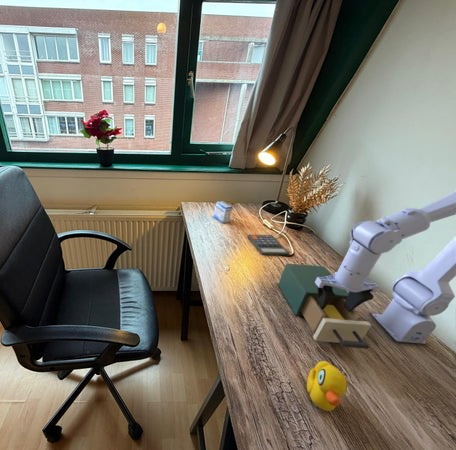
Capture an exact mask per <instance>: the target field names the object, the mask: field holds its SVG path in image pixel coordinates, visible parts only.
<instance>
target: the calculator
mask: <svg viewBox="0 0 456 450" xmlns="http://www.w3.org/2000/svg"><path fill="white" fill-rule="evenodd" d="M247 237H248V238H249V240H250V241H251V242H252V244H253V245H254V247H255V248H256V249H257V250H258V251H259V252H260V254H261V255H268V256H270V255H271V256H272V255H273V256H277V255H278V256H289V255H290V252H289V251H288V250H287V249H286V248H285V247H284V246H283V245H282V244H281V243H280V242H279V241H278V239H276V238H275V236H273V235H272V234H247Z"/></svg>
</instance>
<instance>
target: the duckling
mask: <svg viewBox="0 0 456 450" xmlns="http://www.w3.org/2000/svg"><path fill="white" fill-rule="evenodd" d="M347 389H348V382H347V378H346V377H345V374H344V373H342V371H340V370H339V369H338V368H337V367H336V366H334V365H332V363H330V362H329V361H326V360H321V361H319V362H318V363H317V364H316V365H315V367H312V368H311V369H310V371H309V373H308V376H307V381H306V391H307V393H308V394H309V397H310V399H311V401H312V403H313V404H314V405H315V406H316V407H318V408H319V409H321V410H323V411H325V412H332V411H333V410H335V408H336V407H338V406H339V405H340V398H342V397H343V396H344V395H345V394H346V392H347Z"/></svg>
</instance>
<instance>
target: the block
mask: <svg viewBox="0 0 456 450" xmlns="http://www.w3.org/2000/svg"><path fill="white" fill-rule="evenodd" d="M322 311H323V312H324V313H325V317H324V318H329V319H341V320H344V318H343V317H342V316H341V314H340V313H339V312H338V311H337V309H336V308H335V307H334V305H327V306H326V307H325V308H324V309H322Z"/></svg>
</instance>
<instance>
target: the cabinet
mask: <svg viewBox="0 0 456 450" xmlns="http://www.w3.org/2000/svg"><path fill="white" fill-rule="evenodd" d="M281 273H282V274H281V275H280V278H279V281H278V287H279V289H280V290H281V292H282V294H283V296H284V297H285V299H286V301H287V303H288V305H289V306H290V308H291V309H292V312H293V313H294V314H295V316H301V317H304V316H303V314H302V313H301V309H302V306H303V304H304V302H305V300H306V298H307V296H308V295H318V289H317V285H316V283H315V281H316V279H317V277H326V276H331V275H333V274H332V273H331V272H330V271H329V270H328V269H327V268H326V266H323V265H310V264H300V263H299V264H298V263H285V265H284V267H283V270H282V272H281ZM332 289H333V292H334V294H335V295H336V296H335V297H342V298H345V299H346V298H347V296H348V294H349V291H346V290H343V289H339V288H335V287H333V288H332Z"/></svg>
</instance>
